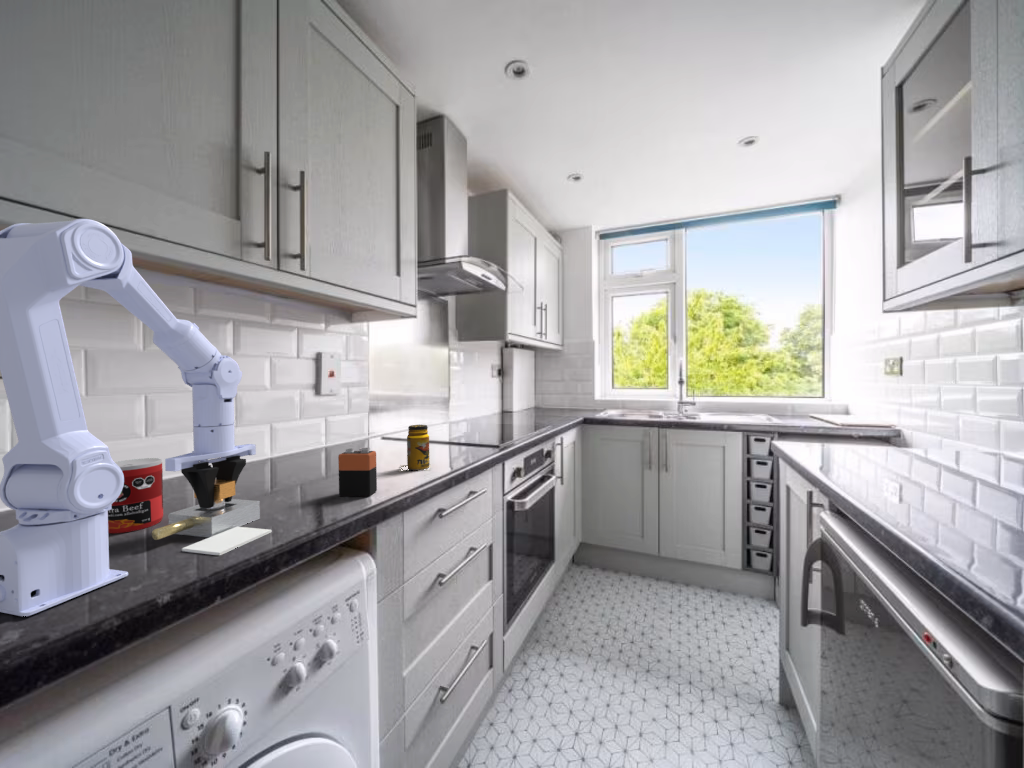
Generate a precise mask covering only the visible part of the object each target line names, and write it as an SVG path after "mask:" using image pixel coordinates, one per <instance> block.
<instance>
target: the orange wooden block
mask: <svg viewBox="0 0 1024 768" xmlns="http://www.w3.org/2000/svg"><path fill="white" fill-rule="evenodd" d="M193 494H194V495H193V496H194V499H197V497H196V495H195V492H194V491H193ZM231 496H232V497H233V496H236V485H235V481H233V480H216V479H215V485H214V503H213V507H211V508H205V511H208V512H216V511H219V510H222V509H225V498H227V497H231Z"/></svg>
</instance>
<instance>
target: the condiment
mask: <svg viewBox="0 0 1024 768" xmlns="http://www.w3.org/2000/svg"><path fill="white" fill-rule="evenodd" d="M428 428H429V427H428V425H426V424H412V425H411V424H410V425H409V426H408V430H407V433H408V434H407V437H406V462H407V465H405V464H404V465H403V464H402V465H401V464H400V466H401V467H404V466H405V467H406V466H408V469H409V470H424V469H427V470H426V471H431V470H432V466H431V463H430V435H429V434H428V432H429V430H428ZM400 466H399V467H400ZM429 467H431V469H429V470H428V468H429ZM401 469H402V468H401ZM401 469H400V468H399V470H400V471H399V470H398V472H399V473H401V472H410V471H409V470H407V471H406V470H403V469H402V470H403V471H401Z"/></svg>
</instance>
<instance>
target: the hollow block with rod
mask: <svg viewBox="0 0 1024 768" xmlns="http://www.w3.org/2000/svg"><path fill="white" fill-rule="evenodd" d="M260 504H261V501H260V500H252V499H240V498H239V499H238V498H232V500H231V501H230V502H225V509H222V510H219V511H216V512H208V511H205V508H200V506H199V504H197V505H193V506H192V505H191V506H188V507H186V508H183V509H179V510H177V511H173V512H169V513H168V515H167V516H168V518H167V519H168V524H166V525H164V526H161V527H158V528H155V529H153V530H152V532H151V537H152V539H153V540H155V541H158V540H161V539H164V538H166V537H170V536H173V535H181V536H182V535H184V536H191V537H200V538H201V537H202V538H209V537H212V536H214V535H217V534H220V533H222V532H225V531H227V530H230V529H232V528H235V527H244V525H247V523H248V524H249V523H253V522H255V521H257V520H261V505H260ZM252 521H253V522H252Z"/></svg>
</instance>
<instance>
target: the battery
mask: <svg viewBox="0 0 1024 768" xmlns="http://www.w3.org/2000/svg"><path fill="white" fill-rule="evenodd" d="M377 479H378V478H377V452H376V451H375V450H371V448H370V447H360V448H359V450H354V448H346V449H345V452H342V453H339V454H338V495H339V497H341V498H343V497H344V498H345V497H350V498H351V497H352V498H353V497H357V498H358V497H359V498H360V497H362V498H368V497H371V496H372V495H373V494H375V493H376V492H377V491H378V489H377V488H378V487H377V486H378V485H377V483H378V482H377V481H378V480H377Z"/></svg>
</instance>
